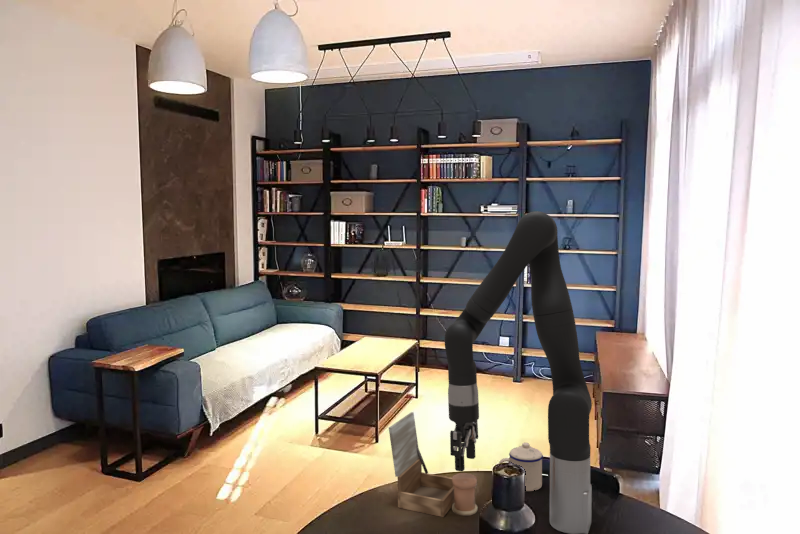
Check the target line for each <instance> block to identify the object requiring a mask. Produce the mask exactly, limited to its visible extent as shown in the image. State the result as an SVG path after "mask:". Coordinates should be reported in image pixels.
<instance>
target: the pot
mask: <svg viewBox="0 0 800 534" xmlns="http://www.w3.org/2000/svg"><path fill="white" fill-rule="evenodd" d="M451 478H452V485H453V486H454V507H455V508H456V509H457V510H460V511H471V510H473V509H474V508H475V504H476V487H477V485H478V477H477V476H476V475H475V474H473V473H467V472H460V473H455V474H454V475H452V477H451Z"/></svg>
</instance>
